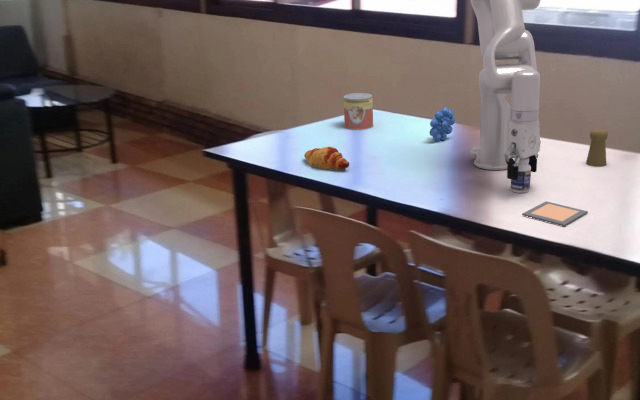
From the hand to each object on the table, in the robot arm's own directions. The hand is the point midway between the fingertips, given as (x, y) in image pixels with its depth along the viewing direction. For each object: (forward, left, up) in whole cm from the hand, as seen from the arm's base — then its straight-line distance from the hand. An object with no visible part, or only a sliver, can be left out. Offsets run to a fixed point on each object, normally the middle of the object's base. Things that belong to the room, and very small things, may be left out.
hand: (521, 175), depth 209 cm
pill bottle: (-1, +1, -5) cm, 5 cm away
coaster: (+16, -10, -5) cm, 20 cm away
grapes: (-51, +30, -5) cm, 59 cm away
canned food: (-88, +27, -5) cm, 92 cm away
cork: (+4, +37, -5) cm, 37 cm away
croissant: (-62, -17, -5) cm, 64 cm away
